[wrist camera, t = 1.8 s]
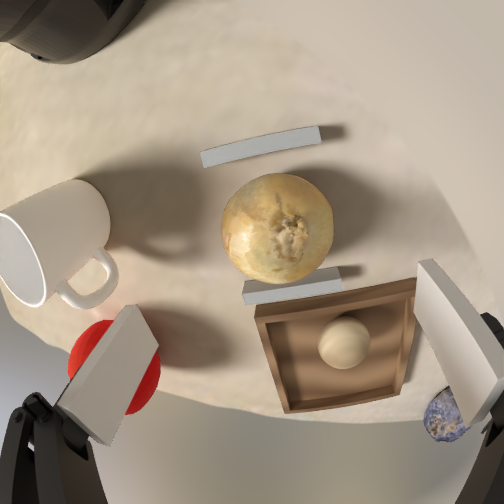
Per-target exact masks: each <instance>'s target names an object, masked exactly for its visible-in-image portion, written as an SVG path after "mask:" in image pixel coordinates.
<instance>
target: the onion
mask: <svg viewBox="0 0 504 504" xmlns="http://www.w3.org/2000/svg"><path fill="white" fill-rule="evenodd" d="M333 238H334V224H333V212H332V208H331V206H330V204H329V203H328V201H327V199H326V198H325V197H324V195H323V194H322V193H321V192H320V191H319V190H318V189H317V188H316V187H315V186H314V185H313V184H311V183H310V182H308V181H307V180H305V179H303V178H301V177H299V176H295V175H291V174H283V173H274V174H267V175H263V176H261V177H259V178H256V179H254V180H252V181H250V182H249V183H247V184H246V185H245V186H243V187H242V188H241V189H240V190H239V191H238V192H237V193H236V194H235V195H234V196H233V197H232V198H231V199H230V200H229V202H228V204H227V206H226V208H225V210H224V214H223V218H222V240H223V245H224V248H225V250H226V253H227V255H228V257H229V258H230V260H231V261H232V263H233V264H234V265H235V266H236V267H237V268H238V269H239V270H240V271H242V272H243V273H244V274H246V275H247V276H249V277H251V278H253V279H256V280H259V281H262V282H266V283H271V284H285V283H290V282H295V281H297V280H300V279H302V278H304V277H306V276H308V275H309V274H311V273H312V272H313V271H315V270H316V269H317V268H318V267H319V266H320V265H321V264H322V262H323V261H324V259H325V257H326V256H327V254H328V252H329V250H330V248H331V245H332V242H333Z"/></svg>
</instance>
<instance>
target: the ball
mask: <svg viewBox="0 0 504 504" xmlns="http://www.w3.org/2000/svg"><path fill="white" fill-rule="evenodd" d="M369 348H370V335H369V332H368V330H367V328H366V326H365V325H364V324H363V323H362V322H361V321H359V320H358V319H356V318H353V317H348V316H343V317H338V318H335V319H333V320H331V321H330V322H328V323H327V324H326V325H325V326H324V327H323V329H322V330H321V332H320V335H319V338H318V350H319V353H320V356H321V357H322V359H323V360H324V361H325V362H326V363H327V364H328V365H330V366H332V367H334V368H338V369H348V368H351V367H354V366H356V365H357V364H359V363H360V362H361V361H362V360H363V359H364V358H365V357H366V355H367V353H368V351H369Z"/></svg>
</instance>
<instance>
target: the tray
mask: <svg viewBox="0 0 504 504" xmlns="http://www.w3.org/2000/svg"><path fill="white" fill-rule="evenodd" d="M416 284H417V283H416V281H415V280H414V278H410V279H405V280H400V281H396V282H391V283H386V284H381V285H376V286H371V287H366V288H361V289H355V290H350V291H344V292H339V293H333V294H327V295H321V296H315V297H309V298H303V299H296V300H290V301H283V302H276V303H269V304H261V305H256V310H255V316H254V319H255V322H256V325H257V328H258V332H259V335H260V338H261V341H262V344H263V348H264V351H265V354H266V357H267V360H268V363H269V367H270V370H271V373H272V376H273V379H274V382H275V385H276V388H277V391H278V394H279V398H280V401H281V404H282V407H283V410H284V413H285V414H290V413H301V412H311V411H319V410H326V409H333V408H340V407H346V406H351V405H357V404H362V403H367V402H372V401H376V400H381V399H385V398H389V397H393V396H397V395H400V391H401V388H402V384H403V380H404V376H405V373H406V369H407V364H408V360H409V356H410V351H411V346H412V341H413V336H414V331H415V325H416V319H417V318H416V316H415V314H414V304H415V294H416ZM343 316H348V317H353V318H356V319H358V320H359V321H361V322H362V323H363V324H364V325H365V326H366V328H367V330H368V332H369V335H370V348H369V351H368V353H367V355H366V357H365V358H364V359H363V360H362V361H361V362H360V363H359V364H357V365H356V366H354V367H351V368H348V369H338V368H334V367H332V366H330V365H328V364H327V363H326V362H325V361H324V360H323V359H322V357H321V356H320V353H319V350H318V338H319V335H320V332H321V330H322V329H323V327H324V326H325V325H326V324H327V323H328V322H330V321H331V320H333V319H335V318H338V317H343Z"/></svg>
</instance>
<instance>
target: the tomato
mask: <svg viewBox="0 0 504 504" xmlns="http://www.w3.org/2000/svg"><path fill="white" fill-rule="evenodd" d="M113 322H114V320H102V321H100V322H97V323H95V324H93V325H92V326H90V327H89V328H88V329H87V330H86V331H85V332H84V333H83V334H82V335H81V336H80V337H79V338H78V339H77V341H76V343H75V345H74V347H73V349H72V351H71V354H70V358H69V363H68V374H69V377H70V380H71V379H72V377H74V374H75V373H76V371H77V370H78V368H79V367H80V366H81V365H82V364H83V363H84V362H85V361H86V359H87V358H88V356H89V355H90V354H91V352H92V351H93V349H94V348H95V346H96V345H97V344H98V342H99V341H100V339H101V338H102V337H103V335H104V334H105V333H106V331H107V330H108V328H109V327H110V326H111V324H112V323H113ZM160 373H161V371H160V359H159V355H158V353H157V350H156V352H155V354H154V356H153V358H152V360H151V362H150V364H149V366H148V368H147V370H146V372H145V374H144V376H143V378H142V380H141V382H140V384H139V386H138V388H137V390H136V392H135V394H134V396H133V398H132V400H131V402H130V404H129V407H128V409H127V411H126V413H125V415H128V414H134V413H135V412H137V411H139V410H140V409H141V408H142V407H143V406H144V405H145V404H146V403H147V402H148V401H149V399H150V398H151V397H152V395H153V393H154V392H155V390H156V388H157V385H158V381H159V378H160Z"/></svg>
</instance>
